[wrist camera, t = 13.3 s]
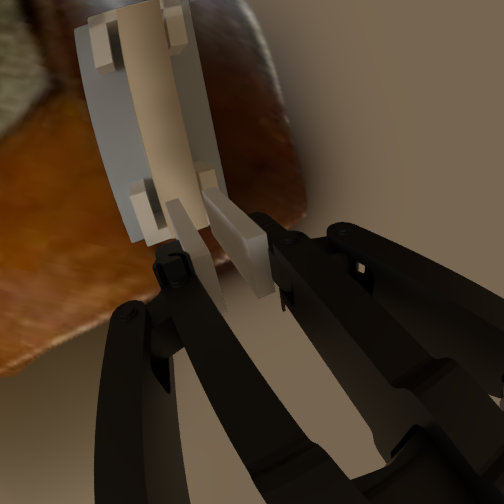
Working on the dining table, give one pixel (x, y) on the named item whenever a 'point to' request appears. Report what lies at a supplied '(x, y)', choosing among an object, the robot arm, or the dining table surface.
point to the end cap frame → (125, 124)
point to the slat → (159, 109)
